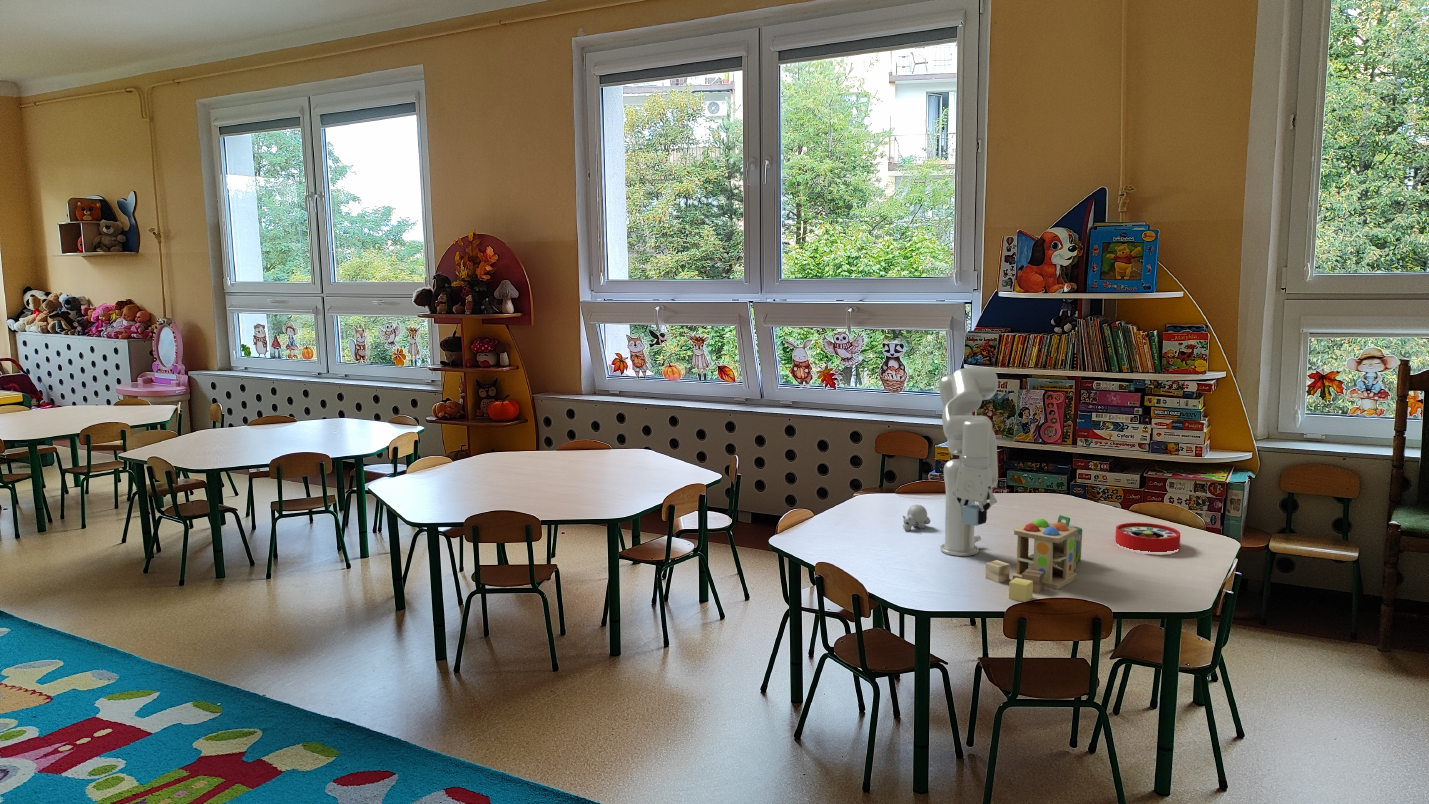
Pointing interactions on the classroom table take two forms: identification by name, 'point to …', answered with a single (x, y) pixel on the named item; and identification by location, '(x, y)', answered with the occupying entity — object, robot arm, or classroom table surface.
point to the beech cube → (997, 571)
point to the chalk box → (1077, 538)
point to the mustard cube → (1020, 589)
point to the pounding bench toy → (1047, 552)
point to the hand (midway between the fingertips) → (973, 520)
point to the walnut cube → (1034, 579)
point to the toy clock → (1147, 537)
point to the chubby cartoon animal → (916, 517)
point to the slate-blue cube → (970, 514)
